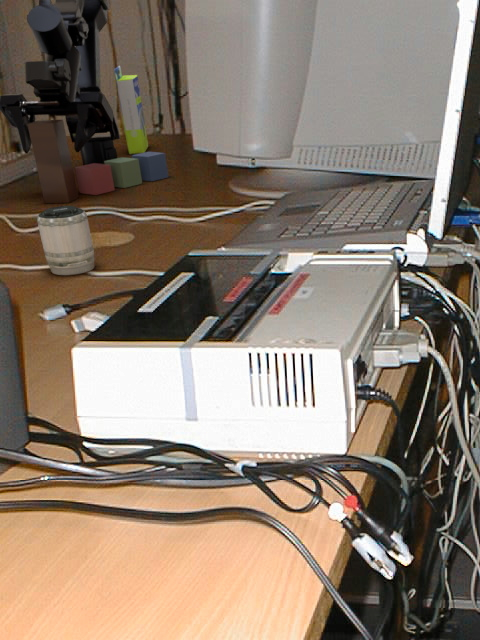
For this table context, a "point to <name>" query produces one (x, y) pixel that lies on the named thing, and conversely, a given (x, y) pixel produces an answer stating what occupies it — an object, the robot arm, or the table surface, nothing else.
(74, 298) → the table surface
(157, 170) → the cube
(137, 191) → the table surface
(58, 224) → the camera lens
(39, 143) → the tall block
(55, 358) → the table surface
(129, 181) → the cube
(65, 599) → the table surface
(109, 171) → the cube
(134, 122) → the box
